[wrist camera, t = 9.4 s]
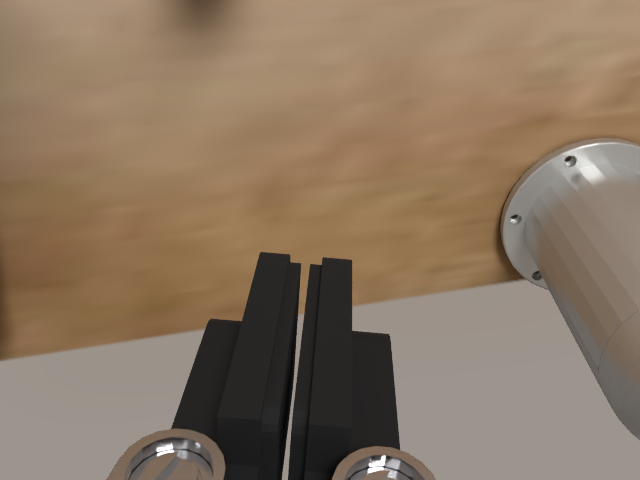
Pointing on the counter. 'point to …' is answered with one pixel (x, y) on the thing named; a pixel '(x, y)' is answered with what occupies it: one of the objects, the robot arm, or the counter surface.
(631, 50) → the counter surface
